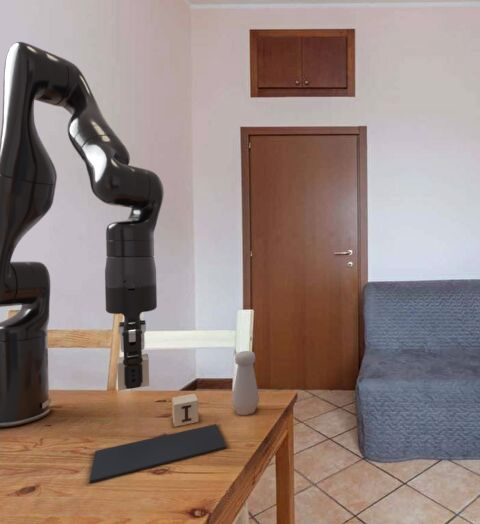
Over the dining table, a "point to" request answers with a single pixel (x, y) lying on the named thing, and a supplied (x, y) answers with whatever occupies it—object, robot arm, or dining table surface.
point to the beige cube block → (185, 409)
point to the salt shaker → (245, 384)
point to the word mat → (155, 452)
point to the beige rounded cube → (123, 374)
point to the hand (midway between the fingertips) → (133, 382)
